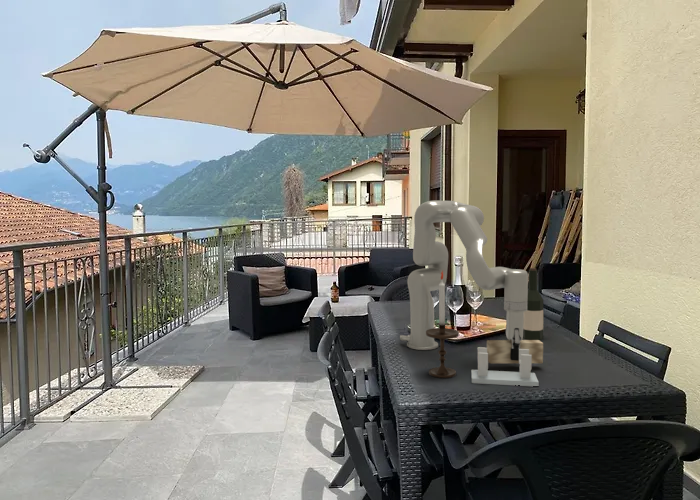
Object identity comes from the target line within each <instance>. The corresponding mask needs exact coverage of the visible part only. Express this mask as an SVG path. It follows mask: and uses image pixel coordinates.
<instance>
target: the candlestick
mask: <svg viewBox="0 0 700 500" xmlns="http://www.w3.org/2000/svg"><path fill="white" fill-rule="evenodd" d="M441 279H443V271H442V272H441ZM445 285H446V283H445V284H443V280H441V283H440V284H439V290H438V304H439V305H438V309H439V310H438V311H439V313H438V316H439V318H438V319H439V320H438V322H437V323H436V326H438V327H436V328H435V327H434V328H433V329H428V330H426V336H428V337H431V338H434V339H437V340H439V343H440V344H439V345H440V348H439V350H438V355H439V358H438V361H440V362H439V363H440V364H439V366H438V367H431V368H430V369H429V370H428V374H429V376H431V377H433V378H437V379H452V378H454V377H456V376H457V370H455V369H454V368H452V367H446V365H445V361H447V358H445V356H446V355H447V350H445V340H449V339H455V338H458V337H459V335H460V333H459V331H458V330H457V329H454V328H453V329H452V328H447V327H446V326H448V325H449V323H446V306H445V305H446V299H445V298H446V297H445V294H446V293H445V292H446V289H445V287H446V286H445Z"/></svg>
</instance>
